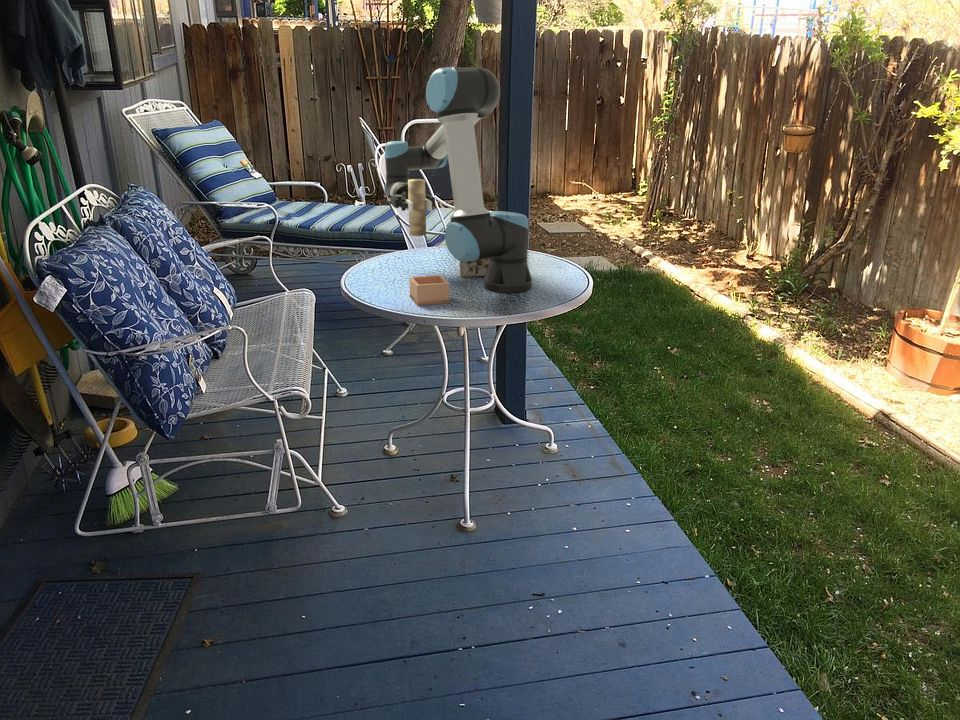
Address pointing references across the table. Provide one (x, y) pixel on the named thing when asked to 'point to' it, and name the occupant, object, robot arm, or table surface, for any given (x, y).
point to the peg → (417, 207)
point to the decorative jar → (474, 267)
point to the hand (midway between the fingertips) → (421, 207)
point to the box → (429, 290)
